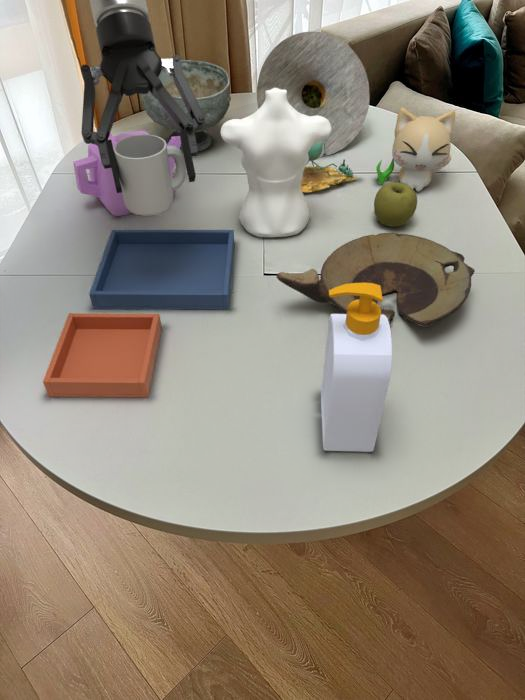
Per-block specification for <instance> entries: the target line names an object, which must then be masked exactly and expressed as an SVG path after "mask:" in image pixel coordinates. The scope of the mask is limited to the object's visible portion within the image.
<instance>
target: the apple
mask: <svg viewBox="0 0 525 700" xmlns="http://www.w3.org/2000/svg"><path fill="white" fill-rule="evenodd" d="M415 191H416V190H415V189H412V188H411V187H410V186H408V185H406V184H404V183H401V182H400V181H399V182H397V181H393V182H392V181H391V182H387V183H385V184H383V185H381V187H380V188H379V189H378V191H377V192H376V194H375V197H374V201H373V209H374V215H375V216H376V219H377V220H378V221H379V222H380V223H381V224H382V225H384V226H387V227H392V228H397V227H401V226H404V225H406V223H408V222H409V221H410V220H411V218H412V217H413V216H414V215H415V212H416V210H417V206H418V196H417V192H415Z"/></svg>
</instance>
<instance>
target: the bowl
mask: <svg viewBox="0 0 525 700" xmlns="http://www.w3.org/2000/svg"><path fill="white" fill-rule="evenodd" d="M181 63H182V71H183V73H184V75H185V77H186V79H187V81H188V84H189V86H190V88H191V90H192V92H193V94H194V96H195V98H196V100H197V102H198V104H199V106H200V108H201V110H202V112H203V114H204V117H205V122H204V127H203V128H202V129H198V130H196V131H195V137H196V142H197V147H198V151H197V152H201V151H204V150H206V149H207V148H209V147H210V146H211V144H212V138H211V135H210V134H208V133H207V132H206V131H208V130H210V129H212V128H214V127H215V126H216V125H218V123H220V121H221V120H223V119H224V118H225V116H226V114H227V112H228V110H229V108H230V105H231V104H230V103H231V100H232V97H231V91H230V89H231V88H230V87H231V85H230V83H231V82H230V76H229V74H228V71H226V69H224V68H223V67H221V66H219V65H217V64H215V63H211V62H208V61H201V60H194V59H193V60H192V59H191V60H190V59H181ZM158 78H159V79H160V81H161V82H162V84H163V86H164V87H165V89H166V90H167V91H168V92H169V94H170V95H171V96H172V97H173V99H174V100H175V101H176V102H177V104H178V105H179V106H180V107H181V109H182V110H183V111H184V112H185V113H186V115H187V116H188V117H189V118H190V120H192V118H191V116H190V114H189V112H188V110H187V108H186V106H185V104H184V102H183V100H182V98H181V95H180V93H179V91H178V89H177V87H176V85H175V83H174V80H173V77H171V76H169V75H168V73H167V71H166V70H164V69H162V70H161V72H160V74H159V76H158ZM139 95H140V97H139V98H140V101H141V103H142V107H143V109H144V111H145V113H146V115H147V116H148V117H149V118H150V119H151V121H153V122H154V123H155V124H157V125H159V126H161V127H163V128H165V129H167V130H170V131H173V132H172V133H170V134H169V136H168V137H167V139H166V145H167V144H168V142H169V141H170V139H171V137H176V136H180V134H181V130H182V129H181V128H180V127H179V126H178V125H177V123H176V122H175V121H174V120H173V118H172V117H171V116H170V115H169V113H168V112H167V111H166V110H165V108H164V107H163V106H162V105H161V104H160V102H159V101H158V100H157V99H155V98H154V96H153V95H152V94H151V93H150V92H148V93H147V94H139ZM180 150H181V151H182V153H183V149H182V144H181V146H180Z"/></svg>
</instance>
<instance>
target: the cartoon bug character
mask: <svg viewBox="0 0 525 700" xmlns="http://www.w3.org/2000/svg"><path fill="white" fill-rule="evenodd" d="M322 144H324V150H325V143H322V141H321V142H318V143H316V144H314V145H313V146H312V147H311V149H310V150H309V152H308V156H309V159H308V163H307V165H308V166H306V167H305V169H304V172H303V177H302V182H301V190H302V193H303V194H305V193H313V192H319V191H322V190H325V189H328V188H330V187H331V186H335V185H338V184H343V183H351V182H353V181H356V180H358V179H357V178H356V177H354V174H353V170H352V169H351V167H349V164H347V165H346V163H345V162H346V159H343V160H342V163H340V164H339V166H338V165H336V164H335V163H330V164H328V165H326V166H320V165H319V164H317V163H316V162H315V161H316V160H318V159H319V158H321V157H320V155H321V153H322V149H323V147H322ZM326 155H327V154H326V151H325V153H324V154H323V156H322V157H327V156H328V155H327V156H326ZM310 162H311V164H312V166H311V165H310V166H309V163H310ZM331 166H334V167H331Z"/></svg>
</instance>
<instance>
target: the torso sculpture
mask: <svg viewBox="0 0 525 700" xmlns="http://www.w3.org/2000/svg"><path fill="white" fill-rule="evenodd" d="M265 95H266V98H265V102H264V103H263V105H262V106H261V107H260V108H258V109H257V110H256V111H255V112H254V113H252V114H250V115H247V116H245V117H243V118H241V119H239V118H232V119H229V120H227V121H225V122H224V123H223V124H222V126H221V128H220V131H219V132H220V137H221V138H222V140H223V141H224V142H226V143H227V144H228V145H231V146H232V147H236V148H238V149H239V150H240V151H242V155H241V165H242V167H243V169H244V172H245V173H246V177H247V185H248V192H247V194H246V196H245V199H244V201H243V203H242V206H241V208H240V214H239V222H240V224H241V226H242V227H243V228H244V230H246V232H248V233H249V234H251V235H252V236H255V237H257V238H282V237H283V238H284V237H290V236H296V235H298V234H299V233H300V232H302V231H303V230H304V229H306V226H307V225H308V222H309V221H310V209H309V205H308V203H307V200H306V198H305V195H304V192H302V190H301V182H302V177H303V172H304V169H305V167H307V165H308V164H309V163H308V159H309V156H308V152H309V150H310V149H311V147H312V146H313V145H314V144H316V143H318V142H321V141H322V140H324V139H325V138H327V137H328V136H329V135H330V133H331V124H330V122H329V120H328V119H326V118H325V117H322V116H318V115H316V116H307V115H304V114H301V113H299V112H298V111H296V110H295V109H294V108H293V107H292V106H291V105H290V104H289V102H288V101H287V90H282V89H278V88H273V89H271V90H266V91H265ZM307 163H308V164H307Z"/></svg>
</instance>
